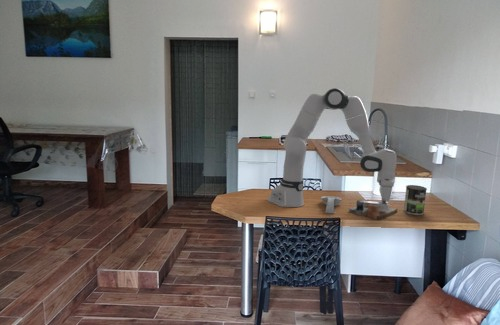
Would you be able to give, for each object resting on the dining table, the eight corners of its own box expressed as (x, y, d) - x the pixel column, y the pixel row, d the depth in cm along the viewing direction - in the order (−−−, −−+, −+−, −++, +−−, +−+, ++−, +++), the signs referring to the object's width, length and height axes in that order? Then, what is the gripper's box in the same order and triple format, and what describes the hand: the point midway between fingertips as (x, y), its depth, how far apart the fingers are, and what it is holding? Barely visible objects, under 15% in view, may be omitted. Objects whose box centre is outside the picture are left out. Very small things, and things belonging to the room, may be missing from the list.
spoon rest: (320, 200, 223) (321, 189, 222) (341, 202, 220) (342, 190, 219) (319, 213, 200) (320, 200, 199) (341, 215, 198) (342, 202, 196)
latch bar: (356, 207, 201) (357, 200, 201) (356, 205, 205) (356, 198, 204) (387, 210, 198) (388, 203, 198) (386, 207, 202) (387, 201, 202)
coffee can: (427, 214, 203) (431, 189, 200) (411, 215, 200) (414, 190, 197) (414, 208, 213) (417, 184, 210) (399, 209, 210) (402, 185, 207)
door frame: (348, 211, 203) (349, 200, 202) (368, 204, 218) (369, 193, 217) (378, 220, 191) (379, 207, 190) (397, 211, 206) (398, 200, 205)
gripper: (378, 174, 211) (375, 198, 214) (381, 183, 191) (378, 209, 194) (390, 175, 209) (387, 199, 212) (394, 184, 190) (391, 210, 193)
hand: (383, 204), depth 203 cm, fingers closed
